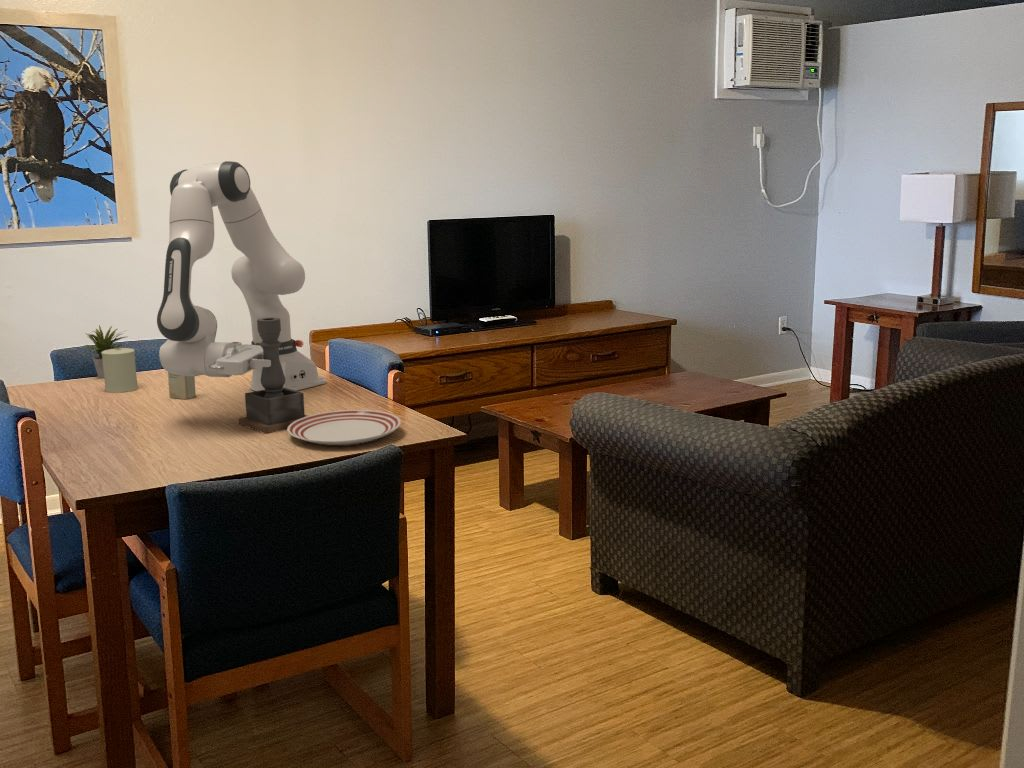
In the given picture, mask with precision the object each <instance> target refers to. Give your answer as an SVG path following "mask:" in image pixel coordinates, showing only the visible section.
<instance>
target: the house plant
mask: <svg viewBox="0 0 1024 768" xmlns="http://www.w3.org/2000/svg"><path fill="white" fill-rule="evenodd" d="M112 327H113V325H111V326H110V327H109V329H108V330H107V332H106V333H105V336H104V333H103V330H102V327H101V325H100V324H99V325H98V328H95V331H93V330H91V332H93V333H95V334H91V333H85V335H86V337H87V338H89V339H90V340H91V341H92V342H93V344H94V345H95V347H94V346H92V345H89V344H85V345H83V347H86V348H90V349H92V353H93V354H94V353H96V354H97V355H96V356H93V357H92V360H93V363H94V364H93V365H94V367H95V371H96V374H97V377H98V378H99V379H104V369H103V359H102V353H101V352H102V351H105V350H109V349H117V348H121V347H124V343H125V341H124V342H120V343H115V342H117V341H120V340H122V339H125V338H128V337H129V336H121V337H119V336H120V335H122V333H124V332H125V330H123V331H120V332H118V333H117V332H116V331H117V330H118V328H116V329H114V330H113V331H112V332H111V330H112ZM127 331H129V330H126V332H127Z"/></svg>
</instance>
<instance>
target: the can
mask: <svg viewBox="0 0 1024 768" xmlns="http://www.w3.org/2000/svg"><path fill="white" fill-rule="evenodd" d="M135 352H136V351H135V349H134V348H130V347H128V348H127V347H119V348H116V349H112V348H111V349H109V350H105V351H102V352H101V353H102V359H103V369H104V378H103V379H104V391H105V392H106V393H111V392H120V393H127V391H129V392H132V390H133V391H136V390H138V389H139V386H138V378H137V376H138V375H137V367H136V355H135ZM137 388H138V389H137ZM135 389H136V390H135Z"/></svg>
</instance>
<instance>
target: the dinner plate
mask: <svg viewBox="0 0 1024 768" xmlns="http://www.w3.org/2000/svg"><path fill="white" fill-rule="evenodd" d="M401 423H402V420H401V418H399V416H397V415H395V414H393V413H389V412H385V411H381V410H371V409H344V410H343V409H342V410H340V409H339V410H333V411H325V412H319V413H315V414H311V415H307V417H304V418H301V419H298V420H296V421H294V422H293V423H291V424H290V425H289V426H288V428H287V429H286V430H287V433H288V434H289V435H290V436H291V437H294V438H296V439H299V440H302V441H305V442H309V443H314V444H316V443H317V445H321V444H325V445H324V446H331V445H344V446H351V445H350V444H356V445H359V444H358V443H362V444H365V443H364V442H367V443H369V442H368V441H370V442H373V441H376V440H377V439H380V438H383V437H386V436H387V435H390V434H391V433H393V432H395V431H396V430H398V428H399V427H400V426H401ZM375 439H376V440H375ZM372 440H373V441H372Z"/></svg>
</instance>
